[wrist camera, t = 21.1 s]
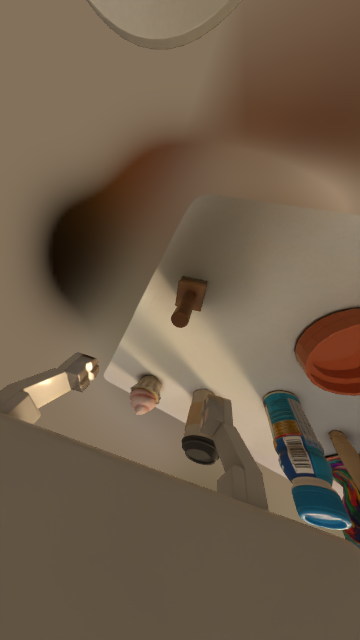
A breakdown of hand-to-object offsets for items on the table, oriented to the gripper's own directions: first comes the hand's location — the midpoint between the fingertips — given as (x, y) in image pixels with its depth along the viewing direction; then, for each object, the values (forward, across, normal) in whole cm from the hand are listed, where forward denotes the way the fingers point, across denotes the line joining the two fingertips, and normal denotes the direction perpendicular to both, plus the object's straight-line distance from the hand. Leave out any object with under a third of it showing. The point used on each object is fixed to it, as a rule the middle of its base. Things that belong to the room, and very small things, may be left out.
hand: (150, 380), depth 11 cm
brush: (+23, 0, +1) cm, 23 cm away
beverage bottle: (+23, -29, +24) cm, 44 cm away
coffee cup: (+23, -11, +32) cm, 41 cm away
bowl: (+23, -31, +4) cm, 39 cm away
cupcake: (+23, +6, +33) cm, 41 cm away
